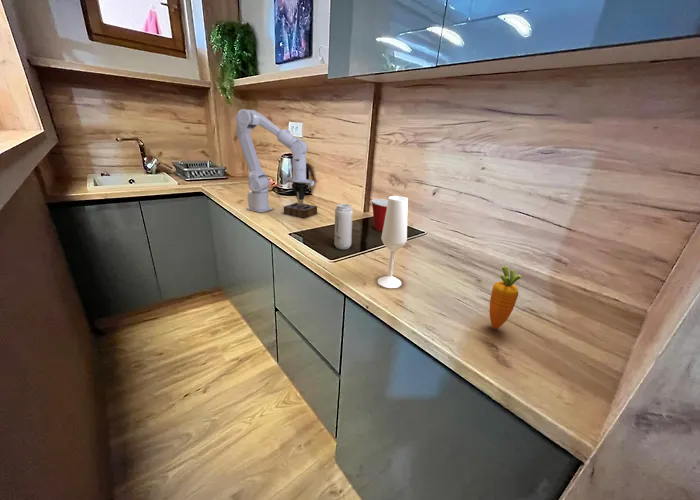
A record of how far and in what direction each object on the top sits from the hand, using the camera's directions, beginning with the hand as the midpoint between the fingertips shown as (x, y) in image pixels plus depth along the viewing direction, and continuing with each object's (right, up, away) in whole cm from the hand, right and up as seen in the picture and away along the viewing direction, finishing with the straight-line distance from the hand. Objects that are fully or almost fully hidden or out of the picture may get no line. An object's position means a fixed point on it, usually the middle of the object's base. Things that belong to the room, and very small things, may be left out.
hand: (300, 199), depth 141 cm
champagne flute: (+34, -33, -55) cm, 73 cm away
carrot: (+55, -41, -73) cm, 100 cm away
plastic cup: (+37, -15, -13) cm, 42 cm away
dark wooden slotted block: (0, -6, +3) cm, 7 cm away
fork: (0, -5, +2) cm, 5 cm away
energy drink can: (+20, -23, -33) cm, 45 cm away
